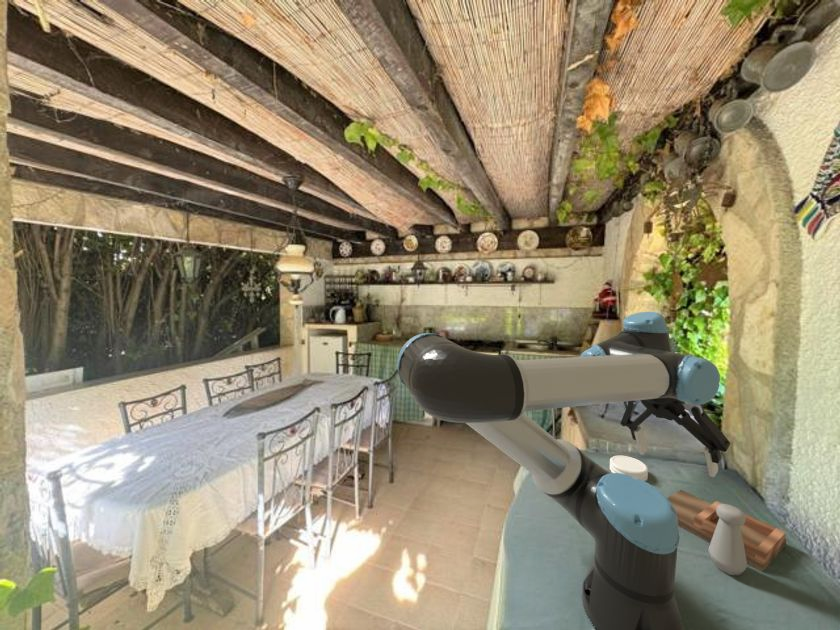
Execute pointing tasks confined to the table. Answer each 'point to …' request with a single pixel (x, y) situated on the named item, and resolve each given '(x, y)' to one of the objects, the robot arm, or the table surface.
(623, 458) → the white round container
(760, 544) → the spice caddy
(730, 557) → the salt shaker
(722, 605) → the table surface
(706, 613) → the table surface
